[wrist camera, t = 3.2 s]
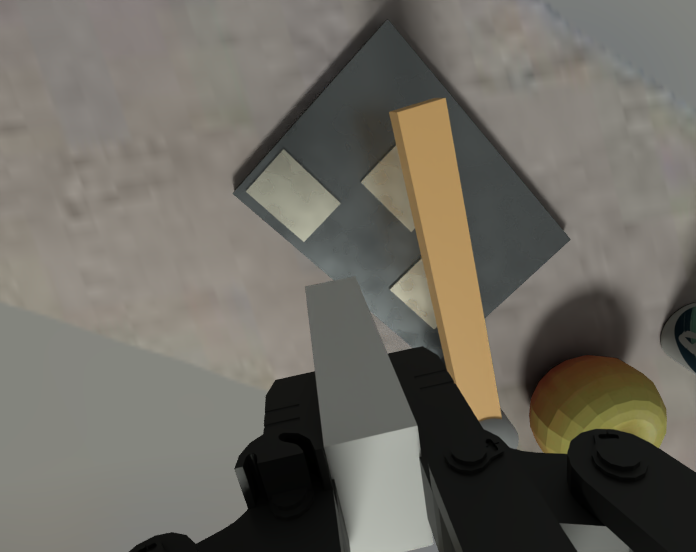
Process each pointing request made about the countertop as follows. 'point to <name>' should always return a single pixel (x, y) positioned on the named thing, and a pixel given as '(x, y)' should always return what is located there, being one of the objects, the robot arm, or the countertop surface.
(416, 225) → the cable arm
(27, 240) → the countertop surface
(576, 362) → the apple
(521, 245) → the plate
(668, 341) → the lotion bottle
